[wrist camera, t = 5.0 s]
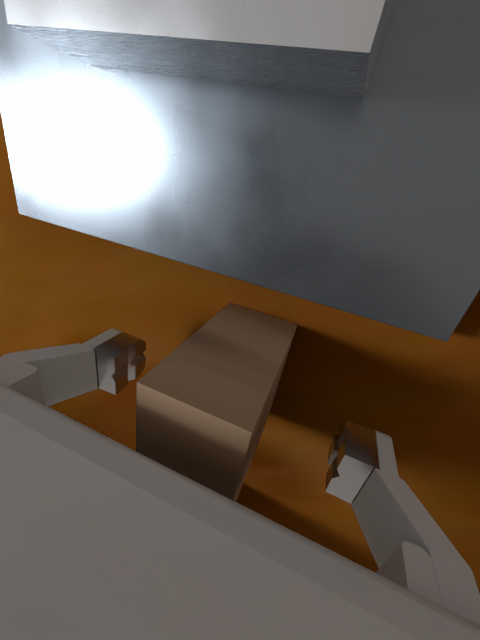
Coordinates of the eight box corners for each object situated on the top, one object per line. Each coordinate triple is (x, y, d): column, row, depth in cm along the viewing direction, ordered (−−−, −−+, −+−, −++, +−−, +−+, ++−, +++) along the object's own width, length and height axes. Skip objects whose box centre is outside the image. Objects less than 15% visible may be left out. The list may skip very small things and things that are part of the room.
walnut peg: (269, 412, 13) (218, 547, 8) (214, 390, 14) (135, 500, 9) (297, 324, 11) (251, 432, 6) (230, 302, 12) (136, 382, 7)
